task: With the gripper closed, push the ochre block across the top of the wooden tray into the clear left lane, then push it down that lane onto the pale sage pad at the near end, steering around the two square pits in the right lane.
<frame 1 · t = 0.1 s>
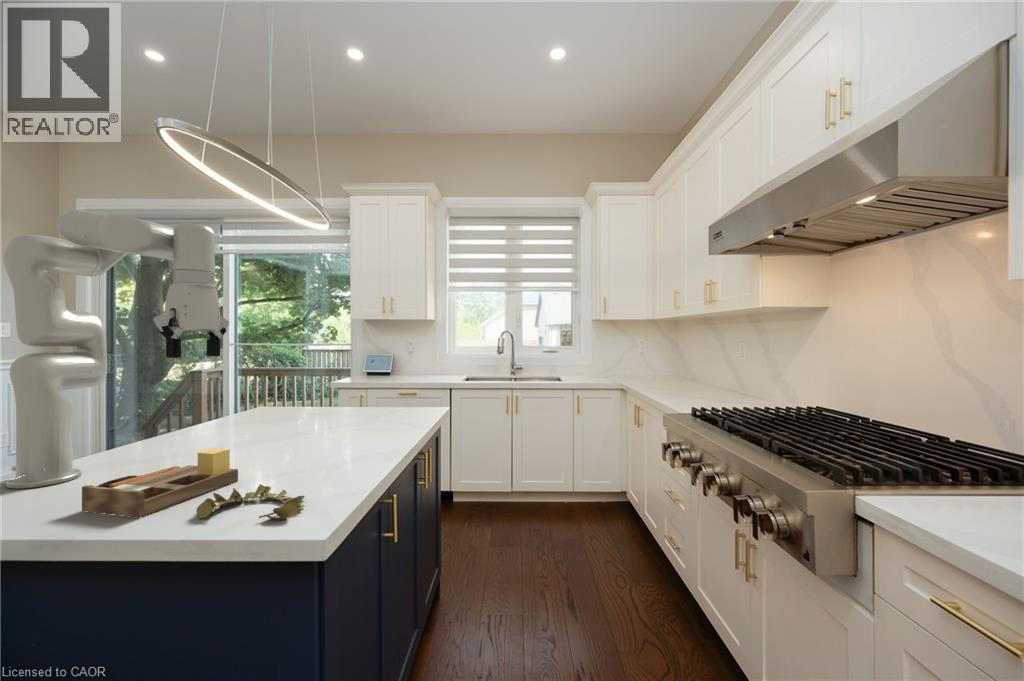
hand: (194, 356, 97), 31 cm above the countertop, tool pointing down, fingers open, 9 cm apart
wooden tray: (169, 494, 97), on the countertop
toy gun: (136, 483, 107), on the countertop
headpiece: (261, 510, 90), on the countertop
block: (213, 471, 104), point 3 cm above the countertop, touching wooden tray
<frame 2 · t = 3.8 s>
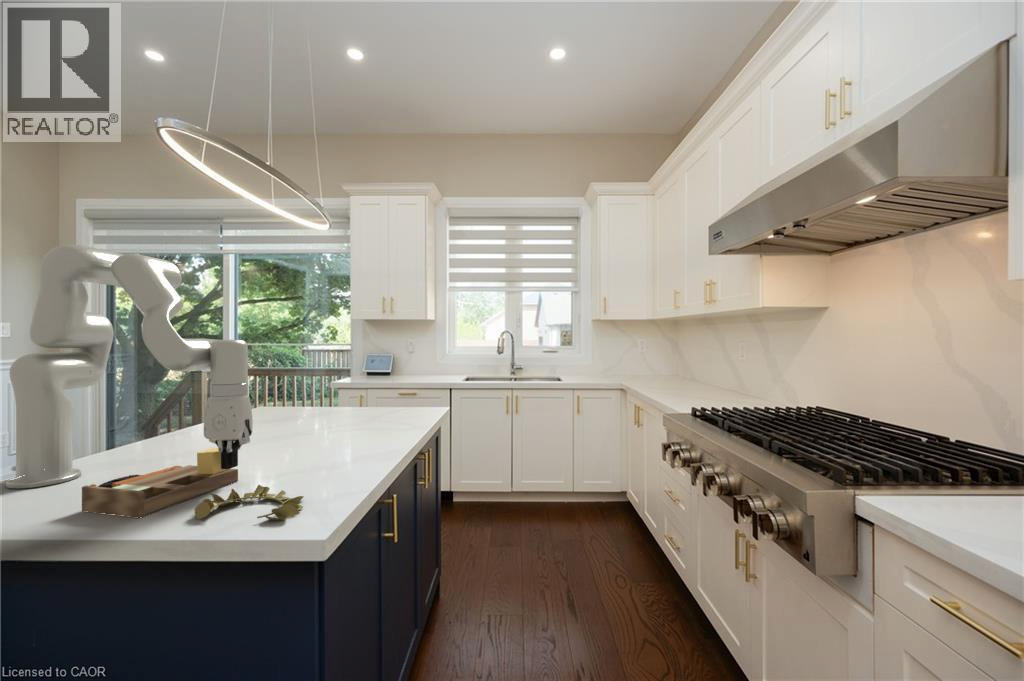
hand: (229, 467, 103), 4 cm above the countertop, tool pointing down, fingers closed
block: (213, 471, 104), point 3 cm above the countertop, touching wooden tray, gripper
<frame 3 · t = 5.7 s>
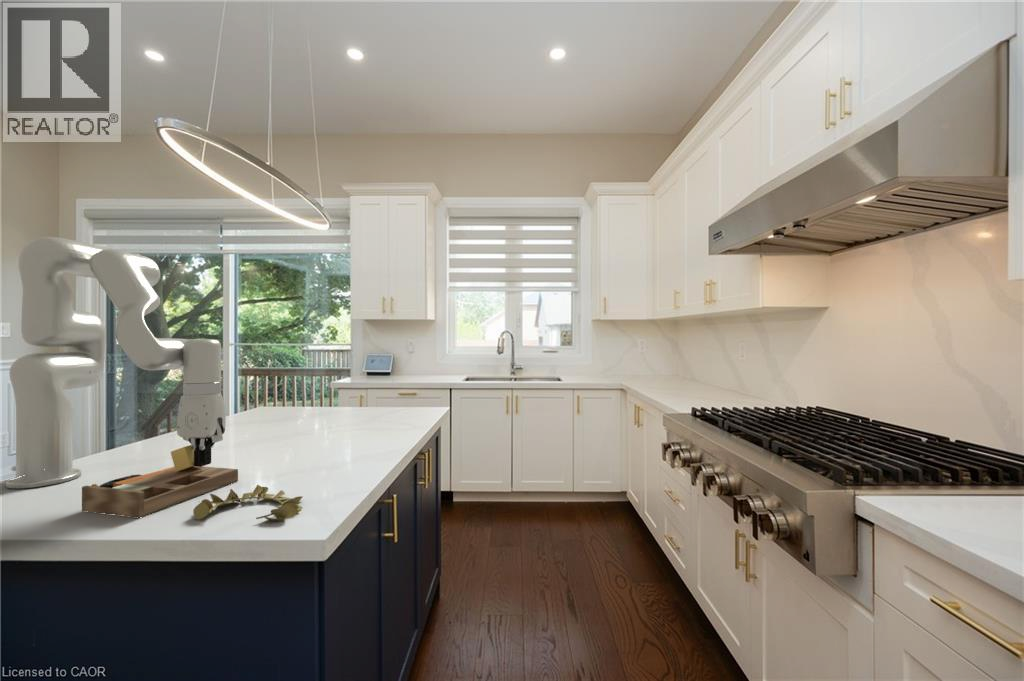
hand: (202, 464, 105), 4 cm above the countertop, tool pointing down, fingers closed
block: (191, 466, 106), point 4 cm above the countertop, tilted 19°, touching wooden tray, gripper
everything else where it was.
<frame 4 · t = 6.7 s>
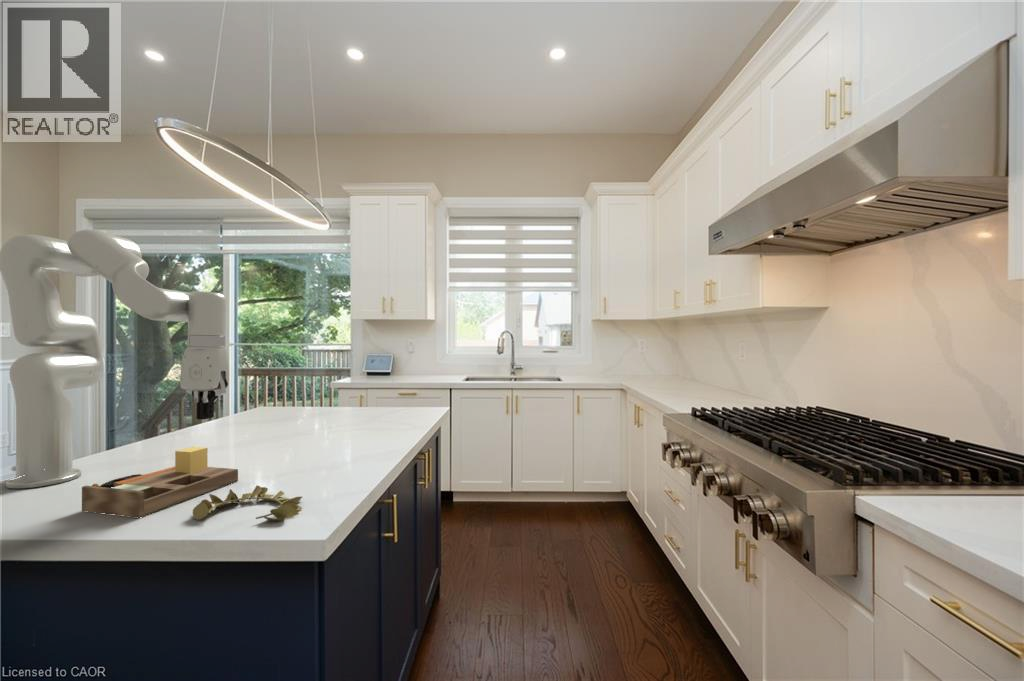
hand: (205, 418, 105), 16 cm above the countertop, tool pointing down, fingers closed
block: (191, 469, 106), point 3 cm above the countertop, touching wooden tray
everything else where it was.
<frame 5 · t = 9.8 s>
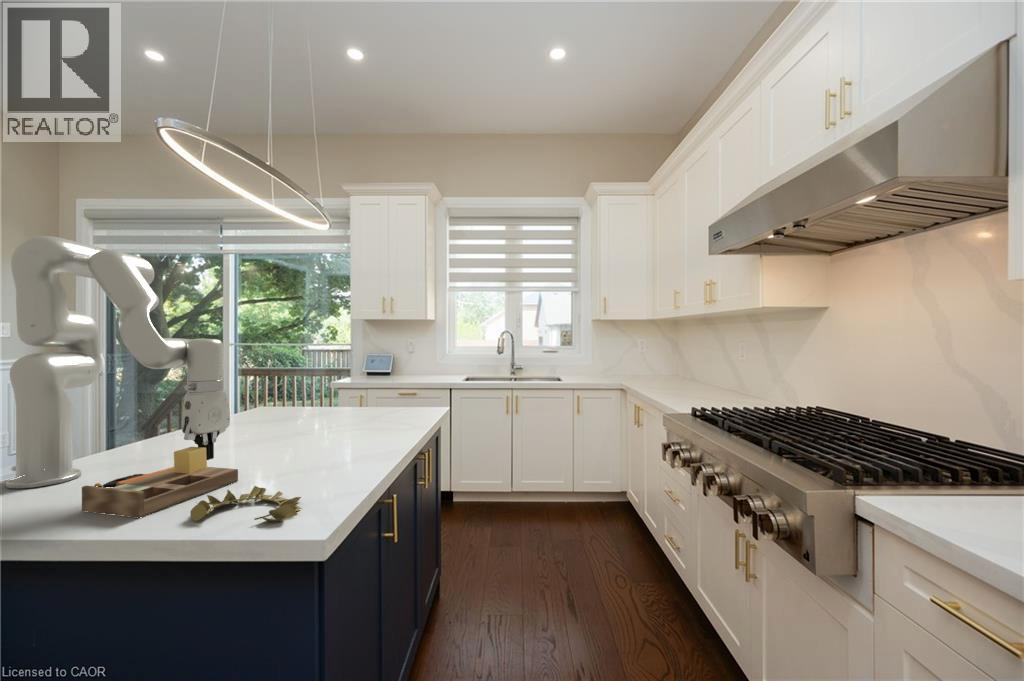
hand: (205, 459, 110), 5 cm above the countertop, tool pointing down, fingers closed
block: (190, 469, 105), point 3 cm above the countertop, touching wooden tray, gripper
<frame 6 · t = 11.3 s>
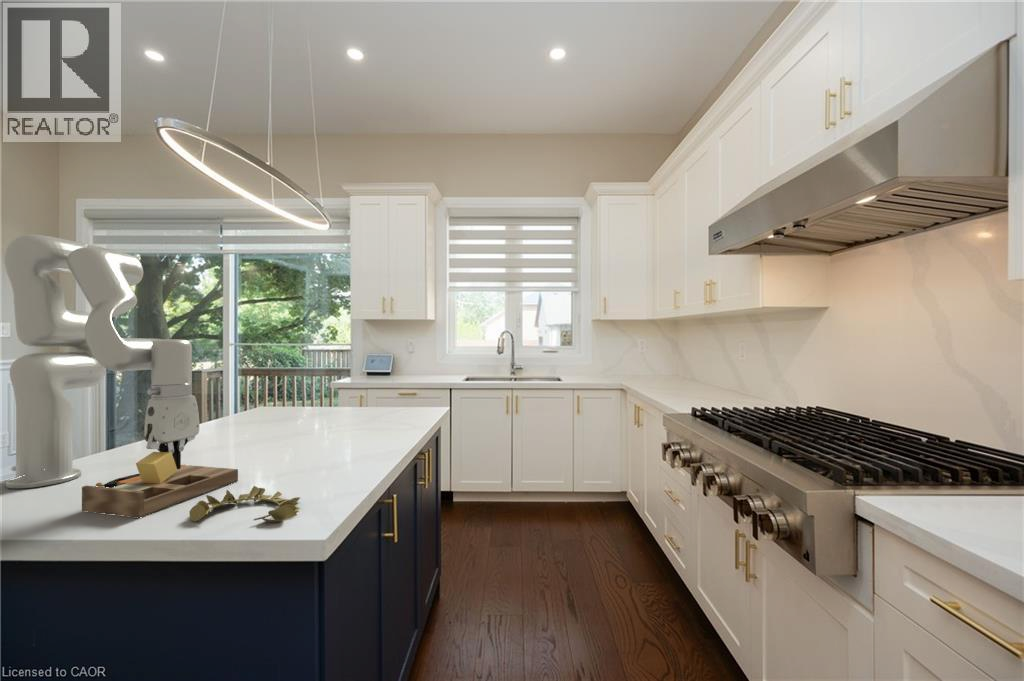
hand: (171, 469, 102), 4 cm above the countertop, tool pointing down, fingers closed
block: (160, 476, 98), point 4 cm above the countertop, tilted 19°, touching wooden tray, gripper
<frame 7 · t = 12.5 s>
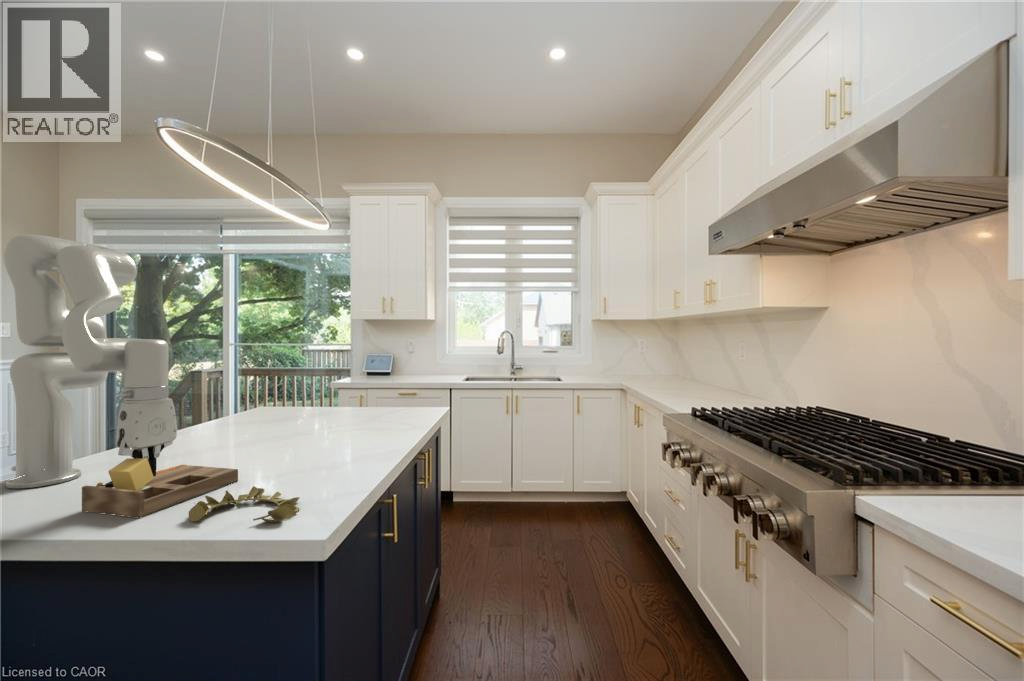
hand: (146, 476, 96), 4 cm above the countertop, tool pointing down, fingers closed
block: (135, 484, 93), point 4 cm above the countertop, tilted 20°, touching gripper
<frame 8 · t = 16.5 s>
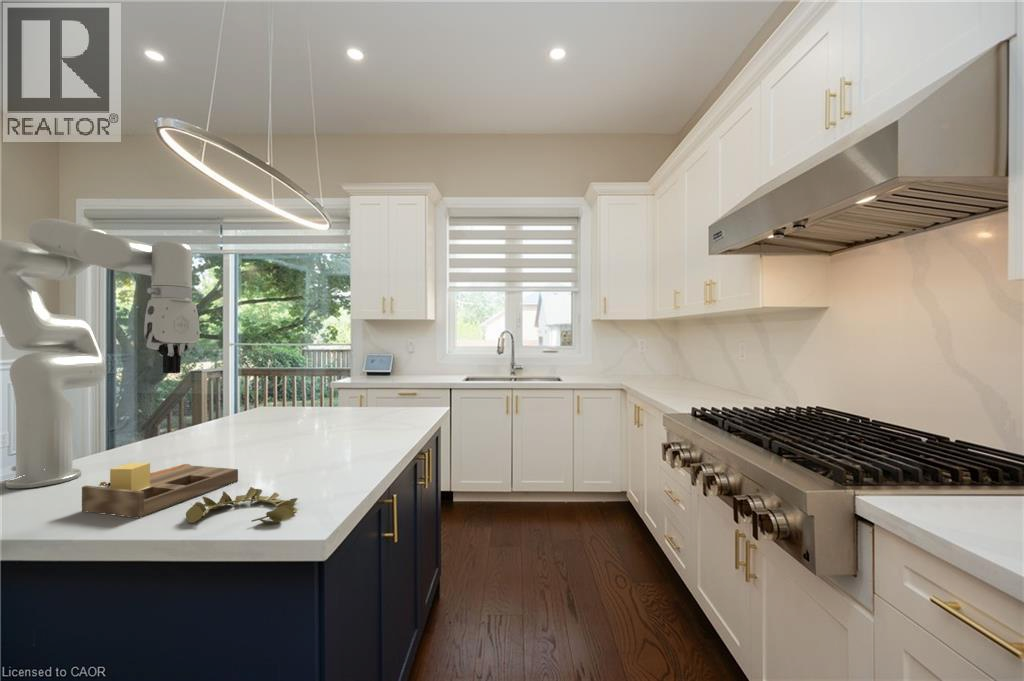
hand: (171, 372, 102), 27 cm above the countertop, tool pointing down, fingers closed
block: (130, 489, 92), point 3 cm above the countertop, touching wooden tray
at the end: block inside the target area on the wooden tray (1.2 cm from its centre), point 3.0 cm above the wooden tray's base; block tilted 0° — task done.
